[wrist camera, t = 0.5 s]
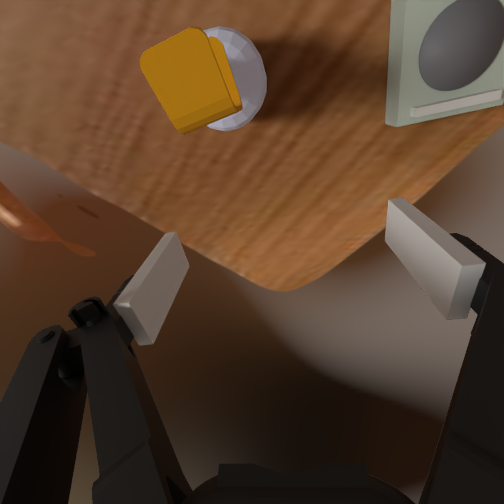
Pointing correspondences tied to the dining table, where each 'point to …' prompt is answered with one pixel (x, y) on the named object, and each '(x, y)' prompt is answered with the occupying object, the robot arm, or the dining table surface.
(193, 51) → the soap bottle
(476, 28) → the pale green ridged block
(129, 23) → the dining table surface
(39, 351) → the robot arm
